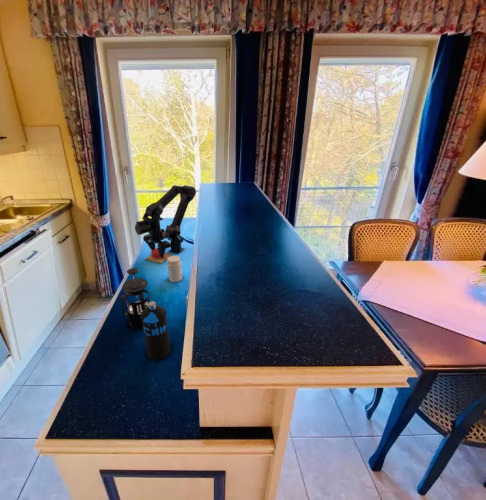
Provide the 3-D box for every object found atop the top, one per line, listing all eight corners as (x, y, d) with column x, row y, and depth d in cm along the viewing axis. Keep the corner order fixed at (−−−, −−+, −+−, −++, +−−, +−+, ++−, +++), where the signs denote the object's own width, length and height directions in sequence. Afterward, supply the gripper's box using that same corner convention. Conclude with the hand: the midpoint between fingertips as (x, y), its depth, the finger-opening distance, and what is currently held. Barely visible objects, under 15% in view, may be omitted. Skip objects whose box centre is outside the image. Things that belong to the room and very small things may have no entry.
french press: (157, 313, 113) (150, 263, 103) (152, 329, 105) (144, 277, 95) (128, 313, 114) (119, 263, 104) (121, 329, 105) (110, 277, 95)
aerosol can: (147, 342, 99) (140, 296, 90) (171, 340, 99) (165, 294, 90) (145, 361, 91) (136, 312, 82) (170, 358, 92) (164, 310, 83)
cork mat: (156, 252, 163) (156, 251, 163) (171, 255, 158) (170, 254, 158) (145, 259, 155) (145, 258, 155) (160, 263, 151) (160, 262, 150)
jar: (173, 273, 141) (171, 254, 136) (184, 276, 138) (183, 257, 133) (166, 280, 135) (163, 260, 131) (177, 283, 132) (175, 263, 128)
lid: (151, 258, 152) (151, 254, 151) (151, 252, 159) (150, 249, 157) (165, 257, 153) (165, 253, 152) (164, 251, 160) (163, 247, 159)
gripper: (177, 229, 148) (180, 255, 155) (157, 221, 160) (160, 245, 167) (160, 235, 141) (163, 262, 148) (140, 226, 154) (144, 251, 160)
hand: (158, 255), depth 156 cm, fingers closed on lid, 7 cm apart
